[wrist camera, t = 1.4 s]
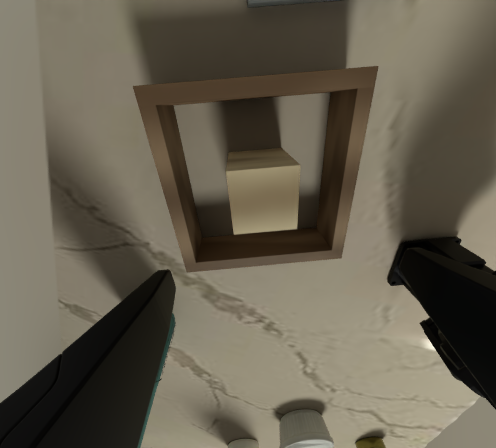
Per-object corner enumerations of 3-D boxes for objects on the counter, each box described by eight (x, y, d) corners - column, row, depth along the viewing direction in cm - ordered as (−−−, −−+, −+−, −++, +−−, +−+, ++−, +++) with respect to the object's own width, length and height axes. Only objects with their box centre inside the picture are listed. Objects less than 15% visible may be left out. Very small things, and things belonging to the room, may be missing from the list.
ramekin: (308, 401, 43) (317, 436, 38) (333, 416, 48) (344, 449, 43) (265, 418, 46) (269, 452, 41) (292, 430, 51) (298, 463, 46)
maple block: (280, 196, 20) (297, 228, 15) (234, 201, 20) (233, 234, 15) (281, 147, 18) (300, 165, 12) (228, 152, 18) (225, 171, 12)
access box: (324, 234, 22) (341, 258, 19) (194, 246, 22) (186, 272, 19) (345, 74, 15) (378, 66, 12) (156, 90, 15) (132, 86, 12)
